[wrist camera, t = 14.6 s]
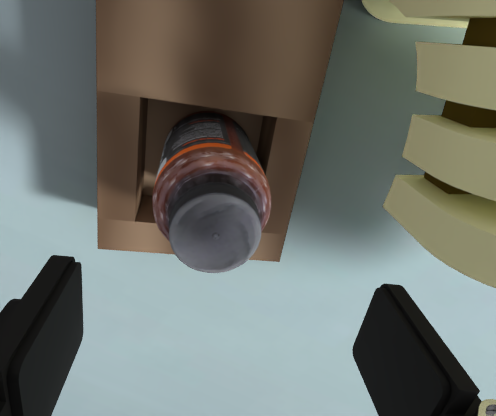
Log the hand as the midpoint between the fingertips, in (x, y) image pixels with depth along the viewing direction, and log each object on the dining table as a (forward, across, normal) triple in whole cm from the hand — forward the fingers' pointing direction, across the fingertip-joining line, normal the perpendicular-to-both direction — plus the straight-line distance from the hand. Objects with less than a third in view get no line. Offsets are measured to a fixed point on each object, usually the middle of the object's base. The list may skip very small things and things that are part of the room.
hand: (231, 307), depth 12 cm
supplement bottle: (+16, +1, 0) cm, 16 cm away
